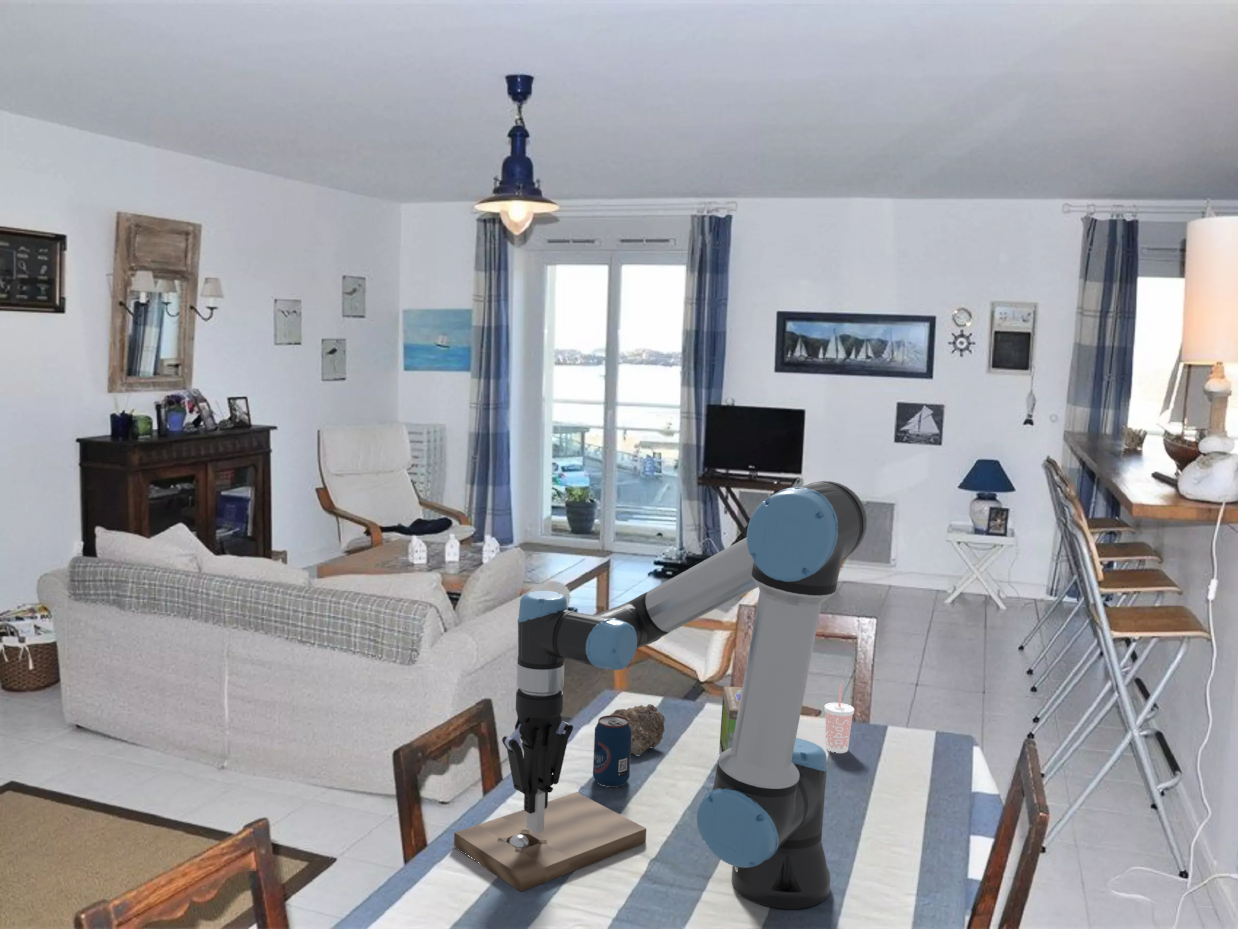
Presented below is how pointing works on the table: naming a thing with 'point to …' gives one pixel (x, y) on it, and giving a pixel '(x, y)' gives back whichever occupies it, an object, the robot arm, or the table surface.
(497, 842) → the walnut board
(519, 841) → the steel ball
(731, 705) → the tea box
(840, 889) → the table surface
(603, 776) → the soda can
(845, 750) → the beverage cup
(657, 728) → the brown rock
